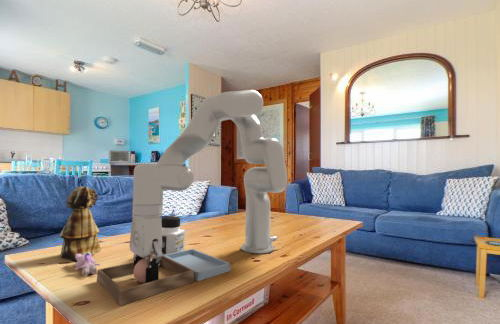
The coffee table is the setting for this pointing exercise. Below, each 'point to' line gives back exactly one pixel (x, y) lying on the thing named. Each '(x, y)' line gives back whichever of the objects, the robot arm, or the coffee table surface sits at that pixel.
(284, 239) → the coffee table surface
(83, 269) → the pink plastic figure
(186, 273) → the wooden box frame
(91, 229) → the plaid cloth bag
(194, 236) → the coffee table surface
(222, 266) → the tray
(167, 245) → the container
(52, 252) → the coffee table surface
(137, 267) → the ball
